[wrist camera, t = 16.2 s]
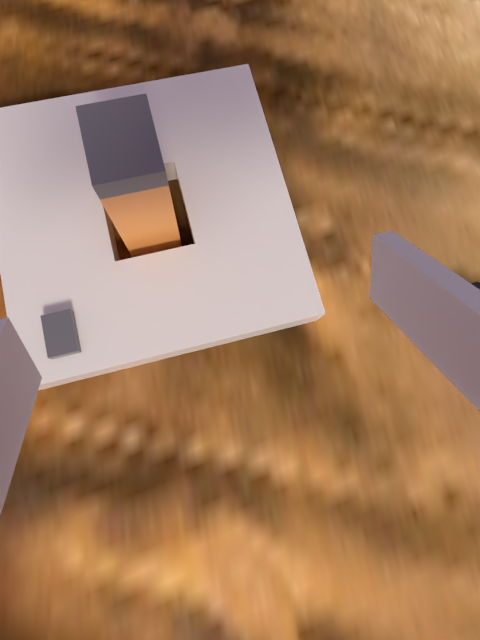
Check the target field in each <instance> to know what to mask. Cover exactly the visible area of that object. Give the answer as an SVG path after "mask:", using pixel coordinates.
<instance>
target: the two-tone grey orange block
mask: <svg viewBox="0 0 480 640" xmlns="http://www.w3.org/2000/svg"><path fill="white" fill-rule="evenodd" d="M75 107H76V112H77V117H78V121H79V126H80V131H81V136H82V141H83V145H84V150H85V155H86V160H87V164H88V169H89V174H90V179H91V184H92V187H93V188H94V190H95V192H96V194H97V196H98V197H99V199H100V201H101V203H102V204H103V206H104V208H105V210H106V211H107V213H108V215H109V217H110V219H111V220H112V222H113V224H114V226H115V227H116V229H117V231H118V233H119V234H120V236H121V238H122V240H123V242H124V243H125V245H126V247H127V249H128V250H129V252H130V254H131V256H132V257H137V256H142V255H146V254H151V253H155V252H160V251H164V250H169V249H173V248H178V247H182V244H181V240H180V235H179V230H178V226H177V221H176V217H175V212H174V207H173V203H172V198H171V193H170V189H169V184H168V180H167V175H166V170H165V166H164V162H163V158H162V154H161V150H160V146H159V142H158V138H157V134H156V130H155V126H154V122H153V118H152V114H151V110H150V106H149V102H148V98H147V94H140V95H135V96H129V97H123V98H118V99H112V100H107V101H101V102H96V103H90V104H85V105H79V106H75Z"/></svg>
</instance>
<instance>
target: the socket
mask: <svg viewBox="0 0 480 640" xmlns="http://www.w3.org/2000/svg"><path fill="white" fill-rule="evenodd" d="M140 94H147V98H148V102H149V106H150V110H151V114H152V118H153V122H154V126H155V130H156V134H157V138H158V142H159V146H160V150H161V154H162V158H163V162H164V166H165V170H166V175H167V180H168V181H170V180H175V179H177V180H178V184H179V188H180V192H181V196H182V200H183V204H184V208H185V212H186V216H187V220H188V224H189V227H190V231H191V235H192V239H193V243H194V244H191V245H187V246H182V247H178V248H173V249H169V250H164V251H160V252H155V253H151V254H146V255H142V256H137V257H133V258H128V259H124V260H120V258H119V253H118V249H117V244H116V239H115V235H114V230H113V226H112V221H111V219H110V217H109V215H108V213H107V211H106V210H105V208H104V206H103V204H102V203H101V201H100V199H99V197H98V196H97V194H96V192H95V190H94V188H93V187H92V184H91V179H90V174H89V169H88V164H87V160H86V155H85V150H84V145H83V141H82V136H81V131H80V126H79V121H78V117H77V112H76V107H75V106H79V105H85V104H90V103H96V102H101V101H107V100H112V99H118V98H123V97H129V96H135V95H140ZM0 274H1V280H2V287H3V293H4V300H5V306H6V312H7V317H9V319H10V321H11V323H12V324H13V326H14V328H15V330H16V332H17V333H18V335H19V337H20V339H21V341H22V342H23V344H24V346H25V348H26V349H27V351H28V353H29V355H30V357H31V358H32V360H33V362H34V364H35V366H36V367H37V369H38V371H39V373H40V375H41V376H42V380H41V383H40V386H39V389H38V390H42V389H46V388H50V387H54V386H58V385H62V384H66V383H70V382H74V381H78V380H82V379H86V378H90V377H94V376H98V375H102V374H106V373H110V372H114V371H118V370H122V369H126V368H130V367H134V366H138V365H142V364H146V363H150V362H154V361H158V360H162V359H166V358H170V357H174V356H178V355H182V354H186V353H190V352H194V351H198V350H202V349H205V348H209V347H213V346H217V345H221V344H225V343H229V342H233V341H237V340H241V339H245V338H249V337H253V336H257V335H261V334H265V333H269V332H273V331H277V330H281V329H285V328H289V327H293V326H297V325H301V324H305V323H309V322H313V321H317V320H318V319H320V318H321V317H322V316H323V315H324V314H325V310H324V307H323V304H322V300H321V297H320V294H319V291H318V287H317V284H316V281H315V278H314V275H313V271H312V268H311V265H310V262H309V258H308V255H307V252H306V249H305V245H304V242H303V239H302V236H301V232H300V229H299V226H298V223H297V220H296V216H295V213H294V210H293V207H292V203H291V200H290V197H289V194H288V190H287V187H286V184H285V181H284V178H283V174H282V171H281V168H280V165H279V161H278V158H277V155H276V152H275V148H274V145H273V142H272V139H271V136H270V132H269V129H268V126H267V123H266V119H265V116H264V113H263V110H262V106H261V103H260V100H259V97H258V93H257V90H256V87H255V84H254V81H253V77H252V74H251V71H250V68H249V64H244V65H239V66H233V67H227V68H222V69H216V70H211V71H205V72H199V73H194V74H188V75H182V76H177V77H171V78H165V79H160V80H154V81H148V82H143V83H137V84H132V85H126V86H120V87H115V88H109V89H103V90H98V91H92V92H86V93H81V94H75V95H69V96H64V97H58V98H52V99H47V100H41V101H36V102H30V103H24V104H19V105H13V106H7V107H2V108H0Z"/></svg>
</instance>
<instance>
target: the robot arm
mask: <svg viewBox="0 0 480 640" xmlns="http://www.w3.org/2000/svg"><path fill="white" fill-rule="evenodd" d="M370 299H371V300H372V301H373V302H374V303H375V304H376V305H377V306H378V307H379V308H380V309H381V310H382V311H383V312H384V313H385V314H386V315H387V317H388V318H389V319H390V320H391V321H392V322H393V323H394V324H395V325H396V326H397V327H398V328H399V329H400V330H401V331H402V332H403V333H404V334H405V335H406V336H407V337H408V338H409V339H410V340H411V341H412V342H413V343H414V344H415V345H416V346H417V347H418V348H419V350H420V351H421V352H422V353H423V354H424V355H425V356H426V357H427V358H428V359H429V360H430V361H431V362H432V363H433V364H434V365H435V366H436V367H437V368H438V369H439V370H440V371H441V372H442V373H443V374H444V375H445V376H446V377H447V378H448V379H449V380H450V381H451V383H452V384H453V385H454V386H455V387H456V388H457V389H458V390H459V391H460V392H461V393H462V394H463V395H464V396H465V397H466V398H467V399H468V400H469V401H470V402H471V403H472V404H473V405H474V406H475V407H476V408H477V409H478V410H479V411H480V283H479V282H475V283H469V282H468V281H466V280H465V279H463V278H462V277H460V276H459V275H457V274H456V273H454V272H453V271H451V270H450V269H448V268H447V267H445V266H444V265H442V264H441V263H440V262H438V261H437V260H435V259H434V258H432V257H431V256H429V255H428V254H426V253H425V252H423V251H422V250H420V249H419V248H417V247H416V246H414V245H413V244H411V243H410V242H408V241H407V240H405V239H404V238H402V237H401V236H399V235H398V234H396V233H395V232H394V231H389V232H384V233H380V234H375V235H373V243H372V265H371V288H370ZM41 380H42V376H41V375H40V373H39V371H38V369H37V367H36V366H35V364H34V362H33V360H32V358H31V357H30V355H29V353H28V351H27V349H26V348H25V346H24V344H23V342H22V341H21V339H20V337H19V335H18V333H17V332H16V330H15V328H14V326H13V324H12V323H11V321H10V319H9V317H7V318H3V319H0V515H1V512H2V508H3V505H4V502H5V499H6V495H7V492H8V489H9V485H10V482H11V479H12V475H13V472H14V469H15V466H16V462H17V459H18V456H19V452H20V449H21V446H22V442H23V439H24V436H25V432H26V429H27V426H28V423H29V419H30V416H31V413H32V409H33V406H34V403H35V399H36V396H37V393H38V389H39V386H40V383H41Z"/></svg>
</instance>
